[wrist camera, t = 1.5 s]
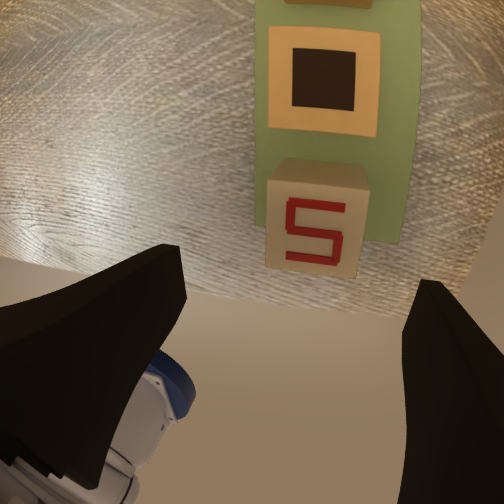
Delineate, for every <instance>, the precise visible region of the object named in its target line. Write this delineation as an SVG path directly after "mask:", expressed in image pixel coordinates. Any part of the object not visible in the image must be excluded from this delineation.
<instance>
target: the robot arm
mask: <svg viewBox="0 0 504 504" xmlns="http://www.w3.org/2000/svg"><path fill="white" fill-rule="evenodd" d="M186 300H187V295H186V289H185V282H184V275H183V269H182V262H181V255H180V247H179V246H176V245H169V244H160V245H157V246H154V247H152V248H149V249H147V250H145V251H143V252H140V253H138V254H136V255H134V256H132V257H130V258H128V259H126V260H124V261H122V262H120V263H117V264H115V265H113V266H111V267H109V268H107V269H105V270H103V271H101V272H99V273H96V274H94V275H92V276H90V277H88V278H85V279H84V280H81V281H79V282H77V283H75V284H72V285H70V286H67V287H65V288H62V289H60V290H57V291H54V292H51V293H49V294H46V295H43V296H40V297H37V298H33V299H30V300H27V301H23V302H20V303H16V304H13V305H9V306H4V307H0V504H134V502H135V500H136V498H137V496H138V492H139V488H140V485H139V482H138V477H137V476H136V475H134V472H135V471H136V470H137V469H140V468H142V467H143V466H145V465H146V464H147V463H148V462H149V461H150V459H151V457H152V456H153V454H154V452H155V450H156V448H157V446H158V444H159V442H160V440H161V438H162V436H163V434H164V432H165V430H166V428H167V426H168V425H169V424H173V425H177V423H178V421H177V418H176V416H175V413H174V410H173V407H172V405H171V402H170V399H169V396H168V393H167V390H166V387H165V384H164V381H163V378H162V377H161V376H159V375H157V374H154V373H151V372H148V371H145V370H146V369H147V367H148V365H149V364H150V362H151V361H152V359H153V358H154V356H155V355H156V353H157V352H158V350H159V349H160V347H161V346H162V344H163V343H164V341H165V339H166V338H167V336H168V335H169V333H170V331H171V330H172V328H173V327H174V325H175V324H176V321H177V319H178V317H179V315H180V313H181V311H182V309H183V307H184V304H185V302H186ZM402 370H403V381H404V391H405V407H406V425H407V436H406V437H407V438H406V450H405V460H404V468H403V475H402V481H401V487H400V492H399V497H398V502H397V504H504V355H503V354H502V353H501V352H500V351H499V349H498V348H497V347H496V346H495V345H494V344H493V343H492V341H491V340H490V339H489V338H488V337H487V336H486V334H485V333H484V332H483V331H482V330H481V328H480V327H479V326H478V325H477V324H476V322H475V321H474V320H473V319H472V318H471V316H470V315H469V314H468V313H467V312H466V310H465V309H464V308H463V307H462V305H461V304H460V303H459V302H458V301H457V300H456V298H455V297H454V296H453V295H452V294H451V293H450V291H449V290H448V289H447V288H446V287H445V286H444V285H443V284H442V283H441V282H440V281H433V280H425V279H421V280H420V284H419V287H418V290H417V293H416V296H415V299H414V301H413V304H412V307H411V310H410V313H409V315H408V318H407V321H406V323H405V326H404V329H403V331H402Z"/></svg>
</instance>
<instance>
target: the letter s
mask: <svg viewBox="0 0 504 504" xmlns="http://www.w3.org/2000/svg"><path fill="white" fill-rule="evenodd" d="M369 198H370V189H369V186H368V182H367V178H366V174H365V171H364V167H363V166H357V165H350V164H341V163H333V162H323V161H313V160H303V159H291V158H284V159H283V160H282V162H281V163H280V164H279V165H278V167H277V168H276V169H275V171H274V172H273V173H272V174H271V176H270V177H269V178H268V180H267V207H266V255H265V266H266V267H268V268H275V269H282V270H290V271H297V272H304V273H312V274H319V275H327V276H334V277H342V278H350V279H355V278H356V274H357V269H358V264H359V259H360V253H361V248H362V242H363V236H364V231H365V224H366V218H367V212H368V205H369Z"/></svg>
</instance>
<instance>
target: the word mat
mask: <svg viewBox="0 0 504 504" xmlns="http://www.w3.org/2000/svg"><path fill="white" fill-rule="evenodd" d="M421 53H422V33H421V3H420V0H255V226H260V227H266V207H267V180H268V178H269V177H270V176H271V174H272V173H273V172H274V171H275V169H276V168H277V167H278V165H279V164H280V163H281V162H282V160H283V159H284V158H291V159H303V160H313V161H323V162H333V163H341V164H350V165H357V166H363V167H364V171H365V174H366V178H367V182H368V186H369V189H370V198H369V205H368V212H367V218H366V224H365V231H364V236H363V239H365V240H373V241H380V242H387V243H395V244H398V242H399V237H400V233H401V228H402V223H403V218H404V213H405V208H406V202H407V197H408V191H409V185H410V179H411V172H412V165H413V158H414V151H415V143H416V134H417V124H418V113H419V100H420V84H421Z"/></svg>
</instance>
